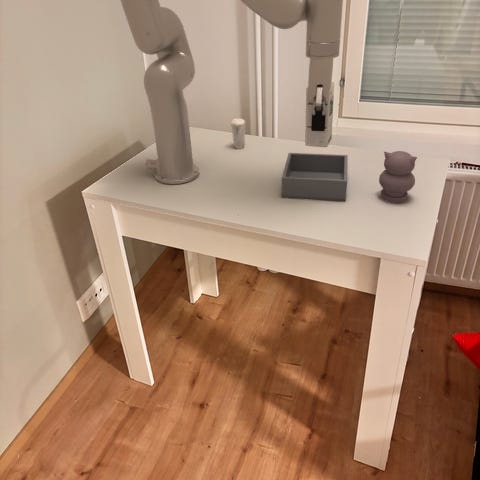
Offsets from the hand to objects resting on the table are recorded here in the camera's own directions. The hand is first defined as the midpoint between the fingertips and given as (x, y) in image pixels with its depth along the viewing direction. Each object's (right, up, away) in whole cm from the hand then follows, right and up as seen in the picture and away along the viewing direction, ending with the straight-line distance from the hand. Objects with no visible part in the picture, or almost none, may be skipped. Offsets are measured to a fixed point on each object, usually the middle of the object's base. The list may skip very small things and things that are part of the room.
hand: (318, 125), depth 116 cm
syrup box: (0, -4, +3) cm, 5 cm away
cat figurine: (+19, -18, +2) cm, 26 cm away
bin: (0, -14, +9) cm, 17 cm away
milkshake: (-19, +1, +33) cm, 39 cm away
